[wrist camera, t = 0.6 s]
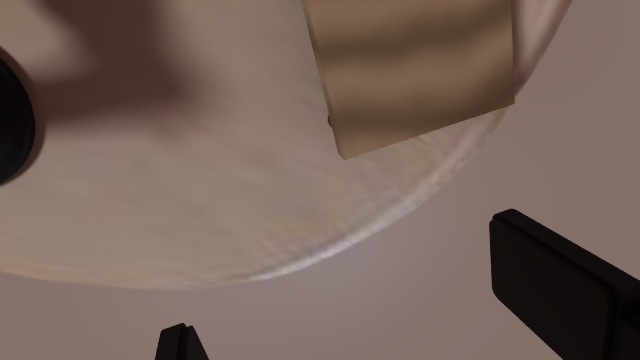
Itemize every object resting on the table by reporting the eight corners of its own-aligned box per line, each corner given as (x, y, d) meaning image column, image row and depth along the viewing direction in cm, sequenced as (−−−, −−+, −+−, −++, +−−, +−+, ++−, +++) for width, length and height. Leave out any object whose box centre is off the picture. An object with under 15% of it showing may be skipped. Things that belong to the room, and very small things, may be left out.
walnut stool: (278, -44, 33) (291, -64, 27) (456, -88, 36) (506, -116, 29) (325, 141, 40) (344, 159, 34) (471, 94, 43) (514, 103, 36)
